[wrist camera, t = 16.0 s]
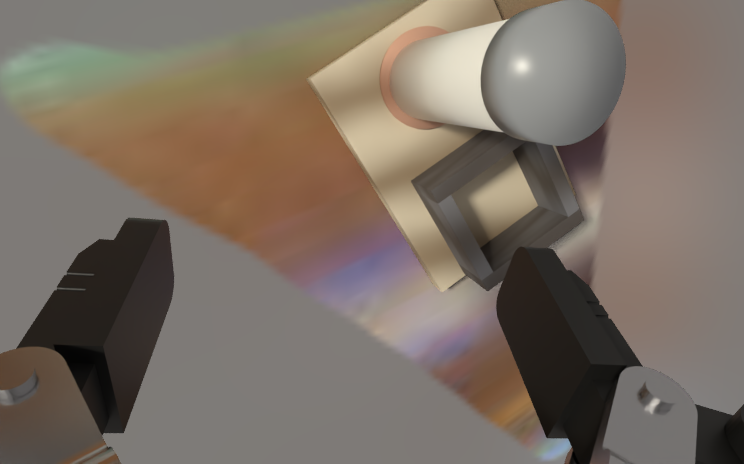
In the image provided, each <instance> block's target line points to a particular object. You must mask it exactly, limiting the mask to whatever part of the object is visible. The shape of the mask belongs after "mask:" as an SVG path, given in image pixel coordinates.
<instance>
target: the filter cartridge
mask: <svg viewBox="0 0 744 464" xmlns="http://www.w3.org/2000/svg"><path fill="white" fill-rule="evenodd" d="M625 68H626V59H625V49H624V44H623V40H622V37H621V35H620V32H619V30H618V28H617V26H616V24H615V22H614V21H613V20H612V18H611V17H610V16H609V15H608V14H607V13H606V12H605V11H604V10H603V9H601V8H600V7H599V6H597V5H595V4H593V3H591V2H588V1H584V0H564V1H559V2H555V3H551V4H547V5H543V6H539V7H535V8H531V9H527V10H525V11H522V12H520V13H518V14H516V15H514V16H513V17H511V18H510V19H507V20H503V21H499V22H494V23H490V24H486V25H481V26H477V27H473V28H468V29H464V30H460V31H456V32H451V33H447V34H443V35H438V36H434V37H430V38H425V39H421V40H417V41H414V42H412V43H410V44H408V45H407V46H406V47H404V48H403V49H402V50H401V51H400V52H399V54H398V55H397V56H396V58H395V60H394V62H393V64H392V67H391V71H390V90H391V94H392V97H393V99H394V101H395V103H396V104H397V106H398V107H399V108H400V109H401V110H402V111H403V112H404V113H405V114H407V115H408V116H410V117H413V118H416V119H421V120H427V121H434V122H440V123H446V124H453V125H459V126H466V127H472V128H478V129H485V130H491V131H498V132H504V133H506V134H507V135H509V136H511V137H513V138H516V139H519V140H525V141H531V142H537V143H542V144H548V145H554V146H564V145H570V144H573V143H577V142H579V141H581V140H583V139H585V138H587V137H588V136H590V135H591V134H593V133H594V132H595V131H596V130H598V129H599V128H600V127H601V126H602V125H603V124H604V122H605V121H606V120H607V118H608V117H609V116H610V114H611V113H612V111H613V109H614V107H615V106H616V104H617V101H618V99H619V96H620V94H621V91H622V87H623V83H624V78H625Z"/></svg>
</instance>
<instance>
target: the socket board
mask: <svg viewBox="0 0 744 464" xmlns="http://www.w3.org/2000/svg"><path fill="white" fill-rule="evenodd" d="M499 21H502V18H501V16H500V14H499V11H498V9H497V7H496V4H495V2H494V0H425V1H423V2H422V3H420V4H419V5H417V6H416V7H414V8H413V9H411V10H410V11H408V12H407V13H405V14H404V15H402V16H401V17H399V18H398V19H396V20H395V21H393V22H392V23H390V24H389V25H387V26H386V27H384V28H383V29H381V30H380V31H378V32H377V33H375V34H374V35H372V36H371V37H369V38H368V39H366V40H365V41H363V42H361V43H360V44H358V45H357V46H355V47H354V48H352V49H351V50H349V51H348V52H346V53H345V54H343V55H342V56H340V57H339V58H337V59H336V60H334V61H333V62H331V63H330V64H328V65H327V66H325V67H324V68H322V69H321V70H319V71H318V72H316V73H315V74H313V75H312V76H310V77H309V78H307V79H306V80H307V81H308V83H309V85H310V86H311V88H312V89H313V91H314V93H315V94H316V96H317V97H318V99H319V101H320V102H321V104H322V106H323V107H324V109H325V110H326V112H327V114H328V115H329V117H330V118H331V120H332V122H333V123H334V125H335V126H336V128H337V130H338V131H339V133H340V135H341V136H342V138H343V139H344V141H345V143H346V144H347V146H348V147H349V149H350V151H351V152H352V154H353V155H354V157H355V159H356V160H357V162H358V164H359V165H360V167H361V168H362V170H363V172H364V173H365V175H366V176H367V178H368V180H369V181H370V183H371V185H372V186H373V188H374V189H375V191H376V193H377V194H378V196H379V197H380V199H381V201H382V202H383V204H384V205H385V207H386V209H387V210H388V212H389V214H390V215H391V217H392V218H393V220H394V222H395V223H396V225H397V226H398V228H399V230H400V231H401V233H402V235H403V236H404V238H405V239H406V241H407V243H408V244H409V246H410V247H411V249H412V251H413V252H414V254H415V255H416V257H417V259H418V260H419V262H420V264H421V265H422V267H423V268H424V270H425V272H426V273H427V275H428V276H429V278H430V280H431V281H432V283H433V284H434V286H435V287H437V288H438V289H439V290H440V291H441V292H443V291H445V290H446V289H447V288H449V287H450V286H452V285H453V284H454V283H456V282H457V281H458V280H460V279H461V278H462V277H464V276H465V275H467V276H468V277H469V278H471V279H472V280H473V281H475V282H476V283H477V284H479V285H480V286H481V287H483V288H484V289H485V290H487V291H489V290H490V289H491V288H493V287H494V286H496V285H497V284H498V283H500V282H501V281H502V280H504V278H505V275H506V273H507V270H508V267H509V265H510V262H511V260H512V257H513V255H514V252H515V251H516V249H517V248H519V247H534V248H547V247H548V246H550V245H551V244H552V243H554V242H555V241H557V240H558V239H559V238H561V237H562V236H563V235H565V234H566V233H567V232H569V231H570V230H571V229H573V228H574V227H576V226H577V225H578V224H580V223H581V222H582V221H584V218H583V216H582V213H581V211H580V209H579V206H578V204H577V202H576V199H575V197H574V196H575V195H576V193H575V191H574V188H573V186H572V184H571V181H570V179H569V177H568V174H567V172H566V170H565V167H564V165H563V162H562V160H561V158H560V155H559V153H558V151H557V148H556V146H554V145H548V144H542V143H537V142H531V141H525V140H519V139H516V138H513V137H511V136H509V135H507V134H506V133H504V132H498V131H491V130H485V129H478V128H472V127H466V126H459V125H453V124H446V123H440V122H434V121H427V120H421V119H416V118H413V117H410V116H408V115H407V114H405V113H404V112H403V111H402V110H401V109H400V108H399V107H398V106H397V104H396V103H395V101H394V99H393V97H392V94H391V90H390V71H391V67H392V64H393V62H394V60H395V58H396V56H397V55H398V54H399V52H400V51H401V50H402V49H403V48H404V47H406V46H407V45H408V44H410V43H412V42H414V41H417V40H421V39H425V38H430V37H434V36H438V35H443V34H447V33H451V32H456V31H460V30H464V29H468V28H473V27H477V26H481V25H486V24H490V23H494V22H499Z"/></svg>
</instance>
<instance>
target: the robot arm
mask: <svg viewBox="0 0 744 464" xmlns="http://www.w3.org/2000/svg"><path fill="white" fill-rule="evenodd" d="M173 288H174V272H173V262H172V253H171V243H170V234H169V226H168V223H167V221H166V220H155V219H154V220H153V219H141V218H128V219H126V221H125V222H124V224H123V226H122V227H121V229H120V231H119V233H118V234H117V236H116V238H115V239H114V240H103V239H99V240H98V241H96V242H95V243H93V244H92V245H91V246H89V247H88V248H86V249H85V250H83V251H82V252H81V253H79V254H78V255H77V257H76V258H75V260H74V262H73V263H72V265H71V266H70V268H69V269H68V271H67V275H64V277H63V278H62V280H61V281H60V283H59V284H58V286H57V290H55V291H54V292H53V293H52V295H51V297H50V298H49V300H48V301H47V303H46V304H45V306H44V307H43V309H42V310H41V312H40V313H39V315H38V316H37V318H36V319H35V321H34V322H33V324H32V325H31V327H30V329H29V330H28V331H27V333H26V334H25V336H24V337H23V339H22V341H21V342H20V344H19V345H18V347H17V348H16V349H13V350H9V351H6V352H3V353H1V354H0V464H121V462H120V460H119V458H118V456H117V455H116V453H115V451H114V450H113V448H112V447H109V448H108V446H107V445H106V443H105V441H104V439H103V437H102V435H103V433H124V431H125V428H126V425H127V422H128V420H129V417H130V414H131V411H132V409H133V406H134V403H135V400H136V398H137V395H138V392H139V389H140V386H141V384H142V381H143V378H144V375H145V373H146V369H147V367H148V364H149V361H150V359H151V356H152V353H153V350H154V348H155V345H156V342H157V339H158V337H159V334H160V331H161V328H162V325H163V323H164V320H165V317H166V314H167V312H168V309H169V306H170V303H171V300H172V295H173ZM496 309H497V316H498V320H499V322H500V325H501V327H502V330H503V332H504V335H505V337H506V339H507V342H508V344H509V347H510V349H511V352H512V354H513V357H514V359H515V361H516V364H517V366H518V369H519V371H520V374H521V376H522V379H523V381H524V384H525V386H526V388H527V391H528V393H529V396H530V398H531V401H532V403H533V406H534V408H535V410H536V413H537V415H538V418H539V420H540V423H541V425H542V428H543V430H544V432H545V435H546V437H547V438H568V439H569V441H570V444H571V446H572V448H571V449H570V451H569V452H568V454H567V456H566V459H565V463H564V464H744V405H743V406H742V407H741V408H740V409H739V410H738V411H737V412H736V413H735V415H730V414H726V413H723V412H719V411H716V410H713V409H709V408H706V407H703V406H699V405H696V404H694V402H693V400H692V398H691V397H690V395H689V394H688V393H687V392H686V391H685V390H684V389H683V388H682V387H681V386H680V385H679V384H678V383H677V382H675V381H674V380H673V379H671V378H670V377H668V376H666V375H664V374H663V373H661V372H658V371H656V370H654V369H650V368H646V367H643V366H642V365H641V363H640V362H639V360H638V359H637V357H636V356H635V354H634V353H633V351H632V350H631V348H630V347H629V346H628V344H627V342H626V341H625V339H624V338H623V336H622V335H621V333H620V332H619V330H618V329H617V327H616V326H615V324H614V323H613V321H612V320H611V319H609V318H608V314H607V312H606V311H605V310H604V308H603V306H602V305H599V301H598V299H597V298H596V296H595V294H594V293H593V291H592V290H591V288H590V287H589V285H587V284H586V283H585V282H584V281H583V280H582V279H580V278H579V277H578V276H577V275H576V274H574V273H573V272H572V271H569V270H566V269H565V267H564V266H563V264H562V262H561V261H560V259H559V258H558V256H557V255H556V253H555V252H554V251H553V250H552V249H548V248H534V247H519V248H517V249H516V251H515V252H514V255H513V257H512V260H511V262H510V265H509V267H508V270H507V273H506V275H505V278H504V280H503V283H502V285H501V288H500V290H499V293H498V297H497V304H496Z"/></svg>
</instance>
